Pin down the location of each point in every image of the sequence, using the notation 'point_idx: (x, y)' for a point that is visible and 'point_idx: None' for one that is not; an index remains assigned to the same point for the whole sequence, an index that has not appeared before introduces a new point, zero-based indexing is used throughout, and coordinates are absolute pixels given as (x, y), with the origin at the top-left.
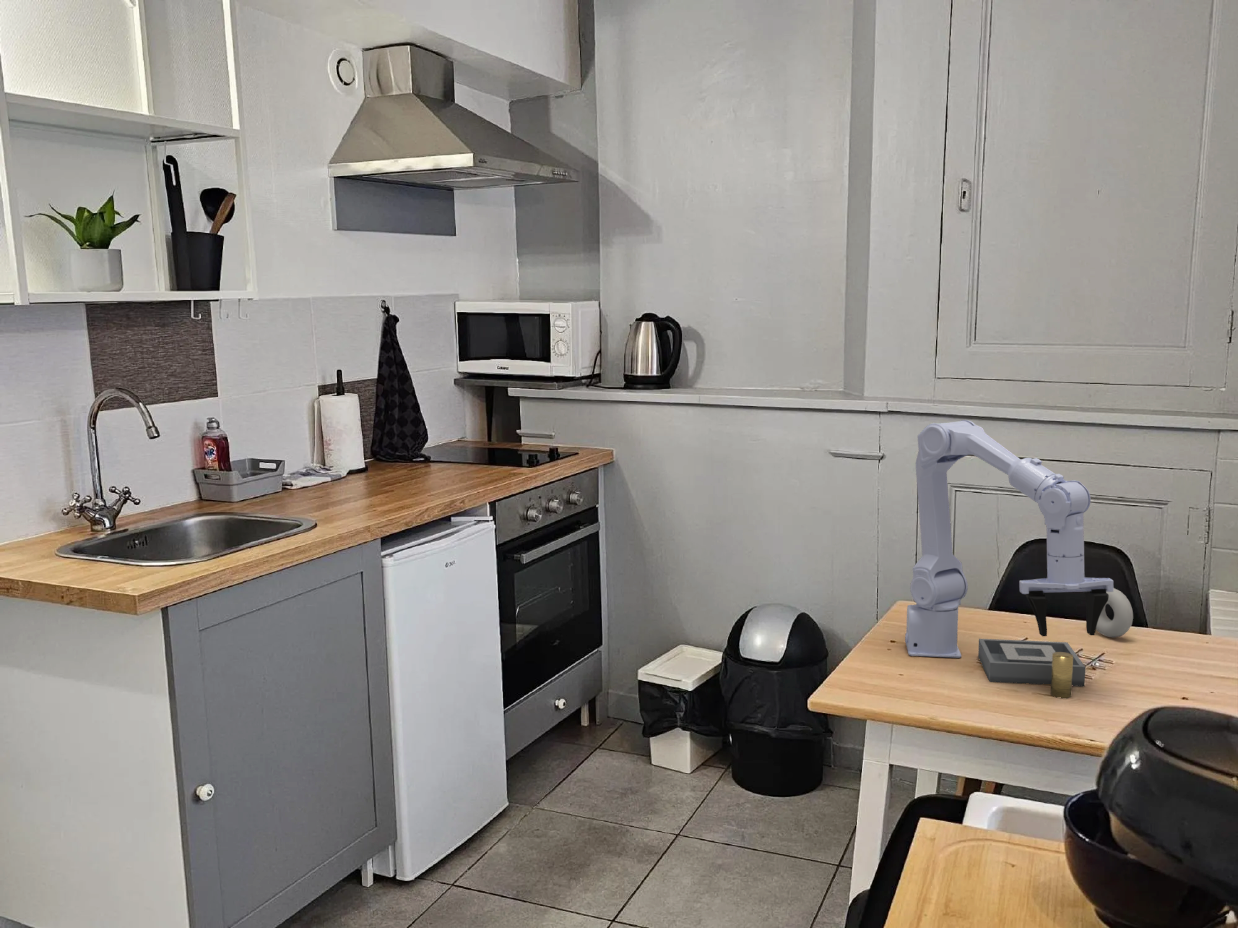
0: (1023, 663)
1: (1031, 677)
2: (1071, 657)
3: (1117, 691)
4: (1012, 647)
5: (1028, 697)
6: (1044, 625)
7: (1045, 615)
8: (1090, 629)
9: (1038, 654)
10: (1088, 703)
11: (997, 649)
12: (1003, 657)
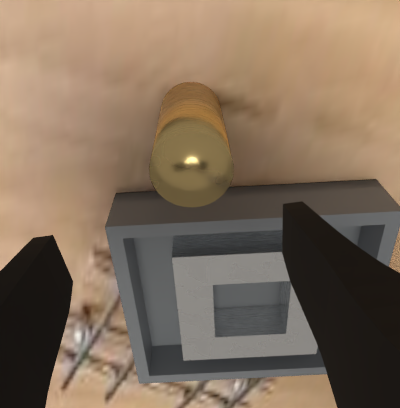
0: None
1: (263, 194)
2: (158, 145)
3: (27, 173)
4: (290, 333)
5: (297, 68)
6: (319, 231)
7: (341, 275)
8: (44, 258)
9: (219, 323)
10: (113, 49)
11: None
12: None
